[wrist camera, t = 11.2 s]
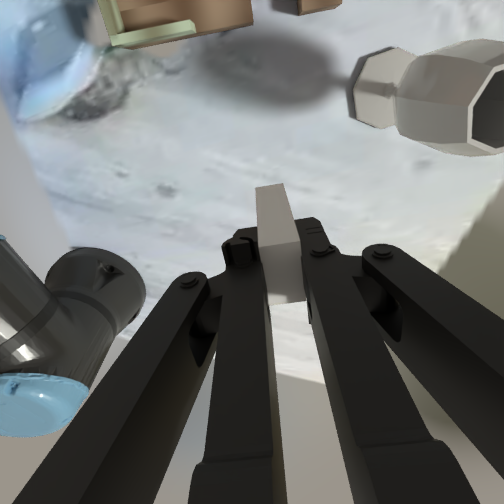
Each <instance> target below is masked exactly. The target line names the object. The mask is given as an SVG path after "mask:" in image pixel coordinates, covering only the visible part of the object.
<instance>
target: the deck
mask: <svg viewBox="0 0 504 504" xmlns="http://www.w3.org/2000/svg"><path fill="white" fill-rule="evenodd" d="M97 1H98V4H99V7H100V10H101V13H102V16H103V19H104V22H105V26H106V29H107V31H108V35H109V38H110V41H111V44H112V46H115V47H120V48H126V49H131V50H133V49H138V48H143V47H148V46H153V45H158V44H163V43H167V42H172V41H177V40H182V39H187V38H192V37H197V36H202V35H207V34H212V33H217V32H222V31H227V30H232V29H237V28H241V27H246V26H251V25H253V22H254V21H253V14H252V6H251V0H97ZM340 4H342V0H297V6H298V16H301V15H305V14H310V13H315V12H320V11H325V10H330V9H335V8H336V7H338V6H339V5H340Z"/></svg>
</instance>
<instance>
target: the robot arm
mask: <svg viewBox="0 0 504 504" xmlns="http://www.w3.org/2000/svg"><path fill="white" fill-rule="evenodd" d="M255 190H256V210H257V227H250V228H244V229H238V230H237V231H236V232H235V234H234V235H233V238H230V239H228V240H227V241H225V242H224V243H223V244H222V246H221V247H222V252H223V256H224V260H225V264H226V270H225V271H224V272H223V273H221V274H219V275H217V276H214V277H212V278H209V279H207V277H206V275H205V274H204V273H202V272H188V273H185V274H182V275H181V276H179V277H177V278H176V279H175V280H174V281H173V282H172V283H171V285H170V286H169V288H168V289H167V290H166V292H165V293H164V294H163V296H162V297H161V299H160V300H159V301H158V303H157V304H156V305H155V307H154V308H153V310H152V311H151V312H150V314H149V315H148V317H147V318H146V319H145V321H144V322H143V323H142V325H141V326H140V328H139V329H138V330H137V332H136V333H135V334H134V336H133V337H132V339H131V340H130V341H129V343H128V344H127V346H126V347H125V348H124V350H123V351H122V352H121V354H120V355H119V357H118V358H117V359H116V361H115V362H114V364H113V365H112V366H111V368H110V369H109V371H108V372H107V373H106V375H105V376H104V377H103V379H102V380H101V382H100V383H99V384H98V386H97V387H96V388H95V390H94V391H93V393H92V394H91V395H90V397H89V398H88V400H87V401H86V402H85V404H84V405H83V407H82V408H81V409H80V410H79V412H78V413H77V415H76V416H75V417H74V415H75V413H76V412H77V410H78V408H79V407H80V405H81V404H82V402H83V400H84V399H85V398H86V397H87V396H88V393H89V390H90V387H91V385H92V383H93V381H94V379H95V377H96V375H97V373H98V371H99V369H100V367H101V365H102V363H103V361H104V359H105V357H106V355H107V353H108V351H109V348H110V346H111V344H112V342H113V340H114V338H115V337H116V336H117V335H118V334H119V333H120V332H121V331H122V330H123V329H124V328H125V327H126V326H127V325H128V324H130V323H131V322H132V321H133V320H134V319H135V318H136V317H137V316H138V314H139V313H140V311H141V309H142V306H143V304H144V302H145V298H146V289H145V284H144V282H143V279H142V277H141V276H140V274H139V273H138V271H137V270H136V269H135V268H134V267H133V266H132V265H131V264H130V263H129V262H127V261H126V260H125V259H123V258H121V257H120V256H118V255H116V254H114V253H111V252H108V251H105V250H101V249H95V248H82V249H76V250H73V251H70V252H68V253H66V254H64V255H63V256H62V257H61V258H60V259H59V260H58V261H57V262H56V263H55V264H54V265H53V266H52V267H51V268H50V270H49V271H48V273H47V276H46V279H45V285H44V284H43V283H42V281H41V280H40V279H39V278H38V277H37V276H36V275H35V274H34V272H33V271H32V270H31V269H30V268H29V267H28V265H27V264H26V263H25V262H24V261H23V260H22V259H21V257H20V256H19V255H18V254H17V253H16V252H15V251H14V249H13V248H12V247H11V246H10V245H9V244H8V243H7V241H6V240H5V239H6V238H5V237H4V236H3V235H0V435H1V436H11V437H36V436H42V435H46V434H50V433H53V432H55V431H57V430H59V429H61V428H62V427H64V426H65V425H66V424H68V423H69V422H70V421H71V420H72V418H73V417H74V419H73V420H72V422H71V423H70V425H69V426H68V427H67V428H66V430H65V431H64V433H63V434H62V435H61V437H60V438H59V440H58V441H57V442H56V444H55V445H54V446H53V448H52V449H51V451H50V452H49V453H48V455H47V456H46V458H45V459H44V460H43V462H42V463H41V464H40V466H39V467H38V469H37V470H36V471H35V473H34V474H33V475H32V477H31V478H30V480H29V481H28V482H27V484H26V485H25V486H24V488H23V489H22V491H21V492H20V493H19V495H18V496H17V497H16V499H15V500H14V502H13V503H12V504H153V503H154V500H155V498H156V495H157V493H158V490H159V488H160V485H161V483H162V481H163V478H164V476H165V473H166V471H167V468H168V466H169V463H170V461H171V458H172V456H173V454H174V451H175V449H176V446H177V444H178V442H179V439H180V437H181V434H182V432H183V429H184V427H185V424H186V422H187V419H188V417H189V415H190V412H191V410H192V407H193V405H194V402H195V400H196V398H197V395H198V393H199V390H200V388H201V385H202V383H203V381H204V378H205V376H206V373H207V371H208V368H209V366H210V364H211V361H212V359H213V356H214V354H215V351H216V356H215V365H214V374H213V382H212V391H211V400H210V409H209V417H208V426H207V435H206V443H205V451H204V457H203V460H202V462H200V463H199V464H197V465H196V467H195V469H194V471H193V475H192V480H191V485H190V491H189V498H188V504H288V503H287V492H286V481H285V470H284V460H283V448H282V437H281V427H280V415H279V403H278V392H277V381H276V370H275V359H274V348H273V337H272V326H271V315H270V309H269V306H271V305H279V304H286V303H294V302H301V301H306V298H307V308H308V318H309V324H311V325H312V330H313V334H314V338H315V342H316V346H317V350H318V355H319V359H320V363H321V367H322V371H323V375H324V380H325V384H326V387H327V392H328V396H329V400H330V405H331V408H332V413H333V417H334V421H335V425H336V430H337V434H338V438H339V442H340V446H341V450H342V454H343V459H344V462H345V467H346V471H347V475H348V480H349V484H350V488H351V492H352V496H353V500H354V504H480V502H479V501H478V499H477V497H476V495H475V493H474V491H473V489H472V487H471V485H470V484H469V482H468V480H467V478H466V476H465V474H464V472H463V471H462V469H461V467H460V465H459V463H458V461H457V459H456V458H455V456H454V455H453V453H452V451H451V450H450V448H449V447H448V446H447V445H446V444H445V443H444V442H443V441H441V440H437V439H434V438H433V437H432V436H431V435H430V433H429V431H428V429H427V428H426V426H425V424H424V422H423V420H422V418H421V416H420V414H419V411H418V409H417V407H416V405H415V403H414V401H413V399H412V397H411V395H410V393H409V391H408V389H407V387H406V385H405V383H404V381H403V379H402V377H401V375H400V373H399V371H398V369H397V367H396V365H395V363H394V361H393V359H392V357H391V355H390V353H389V351H388V349H387V347H386V345H385V343H386V344H387V345H388V346H389V347H390V348H391V349H392V351H393V352H394V353H395V354H396V355H397V356H398V358H399V359H400V360H401V361H402V362H403V363H404V364H405V366H406V367H407V368H408V369H409V370H410V371H411V373H412V374H413V375H414V376H415V377H416V378H417V380H418V381H419V382H420V383H421V384H422V385H423V387H424V388H425V389H426V390H427V391H428V392H429V393H430V395H431V396H432V397H433V398H434V399H435V400H436V401H437V403H438V404H439V405H440V406H441V407H442V409H444V411H445V412H446V413H447V414H448V415H449V417H450V418H451V419H452V420H453V421H454V422H455V424H456V425H457V426H458V427H459V428H460V429H461V431H462V432H463V433H464V434H465V435H466V436H467V437H468V439H469V440H470V441H471V442H472V443H473V444H474V446H475V447H476V448H477V449H478V450H479V451H480V453H481V454H482V455H483V456H484V457H485V458H486V460H487V461H488V462H489V463H490V464H491V465H492V466H493V468H494V469H495V470H496V471H497V472H498V473H499V475H500V476H501V477H502V478H503V479H504V320H503V319H501V318H500V317H499V316H497V315H496V314H494V313H493V312H491V311H490V310H488V309H487V308H485V307H484V306H483V305H481V304H480V303H478V302H477V301H475V300H474V299H472V298H471V297H469V296H468V295H466V294H465V293H463V292H462V291H460V290H459V289H458V288H456V287H455V286H453V285H452V284H450V283H449V282H448V281H446V280H445V279H443V278H441V277H440V276H439V275H437V274H436V273H435V272H433V271H432V270H430V269H429V268H427V267H426V266H424V265H423V264H421V263H420V262H419V261H417V260H416V259H414V258H413V257H411V256H410V255H408V254H407V253H405V252H404V251H403V250H401V249H400V248H397V247H395V246H393V245H388V244H375V245H370V246H368V247H366V248H365V249H364V250H363V251H362V256H350V255H344V254H341V253H340V251H339V249H338V248H337V247H336V246H334V245H332V244H330V242H329V240H328V237H327V235H326V233H325V232H324V229H323V227H322V225H321V222H320V221H319V220H317V219H316V218H314V217H310V218H303V219H297V220H294V218H293V215H292V212H291V208H290V205H289V202H288V198H287V195H286V192H285V188H284V185H283V183H282V184H276V185H269V186H263V187H257V188H255ZM383 340H384V341H385V343H384V341H383Z"/></svg>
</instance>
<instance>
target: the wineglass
mask: <svg viewBox="0 0 504 504" xmlns="http://www.w3.org/2000/svg"><path fill="white" fill-rule="evenodd" d="M353 96H354V103H355V110H356V118H357V120H360V121H362V122H365V123H367V124H369V125H372V126H374V127H377V128H379V129H383V128H386V127H389V126H392V125H395V126H396V128H397V130H398V132H399V134H400V135H402V136H405V137H407V138H409V139H412V140H414V141H417V142H419V143H421V144H424V145H426V146H429V147H431V148H434V149H436V150H438V151H441V152H443V153H446V154H454V155H461V156H469V157H476V156H488V155H496V154H500V153H503V152H504V42H502V41H495V40H488V39H476V40H469V41H461V42H458V43H455V44H452V45H449V46H446V47H443V48H441V49H438V50H435V51H432V52H429V53H426V54H423V55H420V56H416V55H414V54H412V53H410V52H407V51H405V50H403V49H401V48H399V47H397V48H394V49H391V50H388V51H386V52H383V53H380V54H377V55H374V56H372V57H369V58H367V60H366V62H365V64H364V66H363V68H362V70H361V73H360V75H359V77H358V79H357V81H356V83H355V86H354V88H353Z"/></svg>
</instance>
